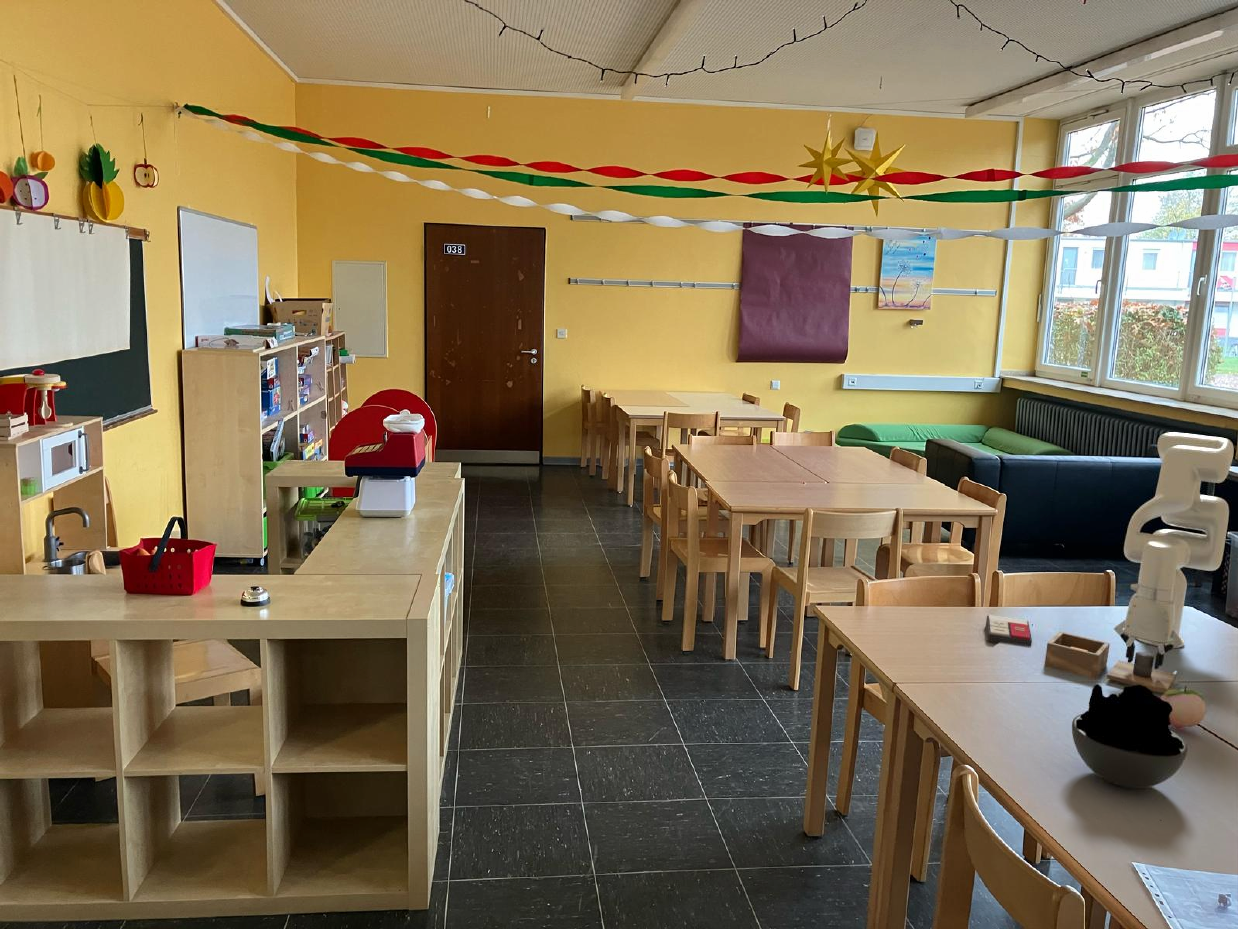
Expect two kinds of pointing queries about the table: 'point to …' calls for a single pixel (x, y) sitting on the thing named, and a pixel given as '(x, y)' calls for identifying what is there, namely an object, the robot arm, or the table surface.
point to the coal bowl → (1129, 738)
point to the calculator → (1007, 630)
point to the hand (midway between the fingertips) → (1143, 663)
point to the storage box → (1077, 654)
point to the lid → (1142, 674)
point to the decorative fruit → (1185, 707)
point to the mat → (1112, 682)
